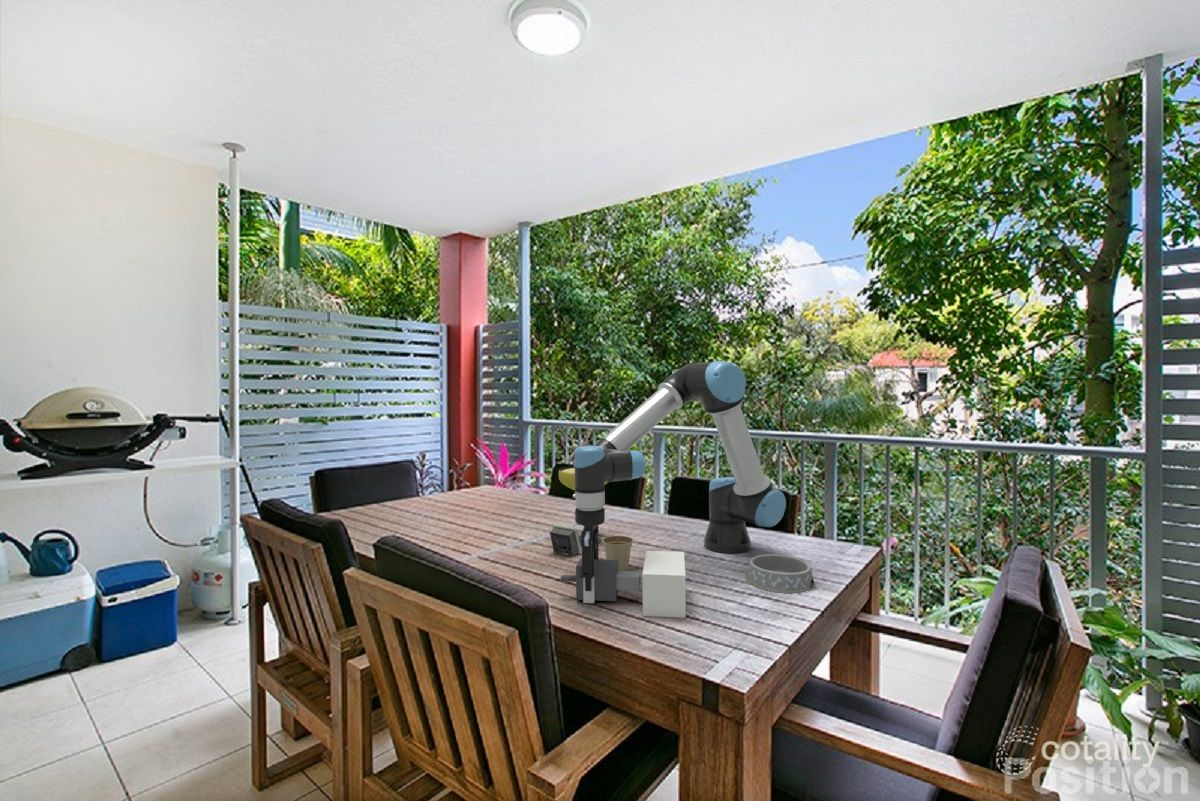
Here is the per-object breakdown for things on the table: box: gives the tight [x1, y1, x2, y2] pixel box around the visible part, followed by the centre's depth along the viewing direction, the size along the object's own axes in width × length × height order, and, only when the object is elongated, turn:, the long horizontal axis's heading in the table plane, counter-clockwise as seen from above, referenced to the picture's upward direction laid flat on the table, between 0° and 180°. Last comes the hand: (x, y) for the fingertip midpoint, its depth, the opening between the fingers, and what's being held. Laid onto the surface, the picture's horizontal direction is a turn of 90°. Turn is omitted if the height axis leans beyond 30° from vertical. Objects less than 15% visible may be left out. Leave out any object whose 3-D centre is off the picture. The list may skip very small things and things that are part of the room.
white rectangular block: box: [642, 550, 687, 619], centre depth 139 cm, size 10×18×10 cm, turn 173°
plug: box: [559, 558, 641, 602], centre depth 141 cm, size 20×6×8 cm, turn 83°
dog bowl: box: [745, 553, 815, 595], centre depth 152 cm, size 17×18×5 cm
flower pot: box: [601, 535, 635, 571], centre depth 163 cm, size 9×9×9 cm
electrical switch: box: [549, 524, 582, 557], centre depth 177 cm, size 9×5×9 cm, turn 57°
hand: (590, 596), depth 141 cm, fingers closed on plug, 6 cm apart
